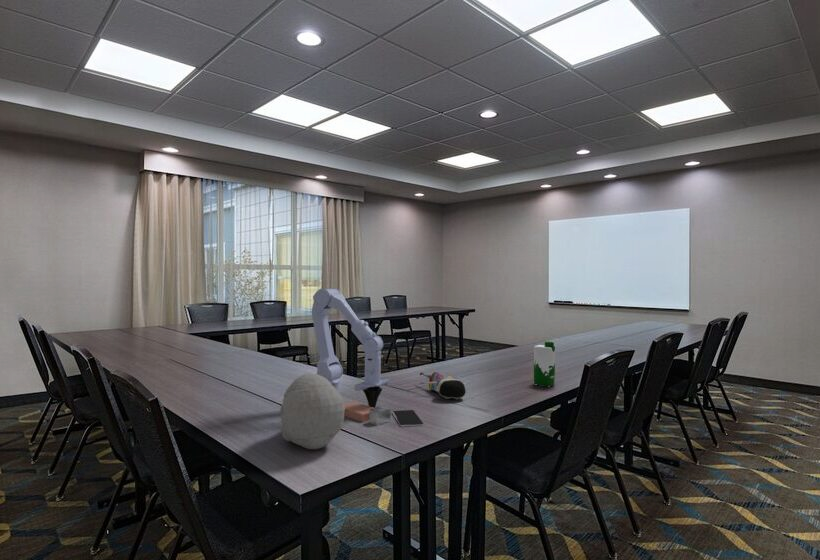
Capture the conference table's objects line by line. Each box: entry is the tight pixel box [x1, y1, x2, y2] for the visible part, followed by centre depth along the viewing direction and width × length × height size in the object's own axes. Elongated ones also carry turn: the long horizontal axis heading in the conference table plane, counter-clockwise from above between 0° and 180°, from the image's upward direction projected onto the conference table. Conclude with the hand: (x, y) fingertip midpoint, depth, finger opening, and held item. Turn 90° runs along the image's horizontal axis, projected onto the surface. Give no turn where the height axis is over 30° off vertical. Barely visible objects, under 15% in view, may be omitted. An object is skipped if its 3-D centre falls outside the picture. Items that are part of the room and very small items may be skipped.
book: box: [344, 401, 374, 423], centre depth 153 cm, size 14×8×3 cm, turn 48°
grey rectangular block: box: [368, 405, 391, 426], centre depth 146 cm, size 4×6×4 cm, turn 133°
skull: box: [280, 372, 345, 450], centre depth 128 cm, size 17×27×20 cm, turn 28°
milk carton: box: [533, 341, 557, 387], centre depth 201 cm, size 9×9×20 cm
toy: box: [419, 371, 471, 400], centre depth 185 cm, size 23×9×30 cm
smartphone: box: [391, 409, 424, 428], centre depth 149 cm, size 8×1×15 cm
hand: (372, 407), depth 157 cm, fingers closed
